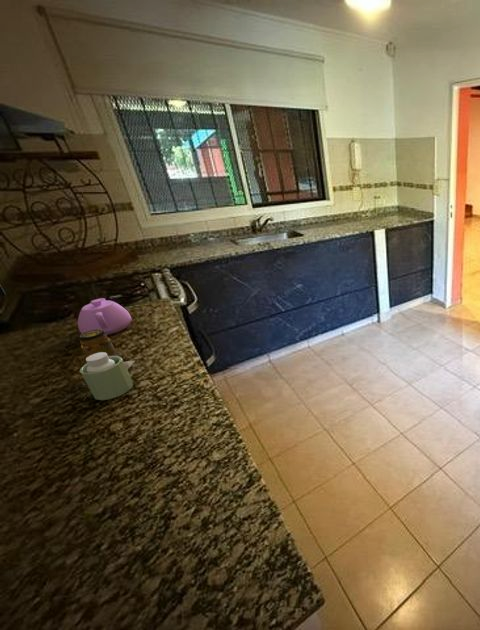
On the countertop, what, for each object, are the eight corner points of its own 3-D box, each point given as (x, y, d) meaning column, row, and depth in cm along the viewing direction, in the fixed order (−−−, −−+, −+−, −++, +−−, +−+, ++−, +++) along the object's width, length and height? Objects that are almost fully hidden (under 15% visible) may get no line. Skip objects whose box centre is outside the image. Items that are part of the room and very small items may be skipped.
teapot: (132, 312, 130) (121, 286, 125) (134, 332, 116) (122, 303, 111) (83, 322, 122) (70, 295, 118) (80, 345, 108) (64, 315, 104)
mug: (91, 404, 84) (77, 378, 80) (95, 387, 90) (82, 362, 86) (132, 392, 88) (120, 366, 84) (133, 376, 94) (122, 352, 90)
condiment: (102, 364, 99) (84, 328, 94) (135, 360, 101) (119, 325, 95) (87, 380, 93) (66, 342, 87) (123, 375, 95) (105, 337, 89)
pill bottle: (107, 396, 85) (90, 364, 81) (93, 392, 87) (75, 360, 82) (130, 383, 90) (115, 352, 86) (115, 379, 91) (100, 349, 87)
